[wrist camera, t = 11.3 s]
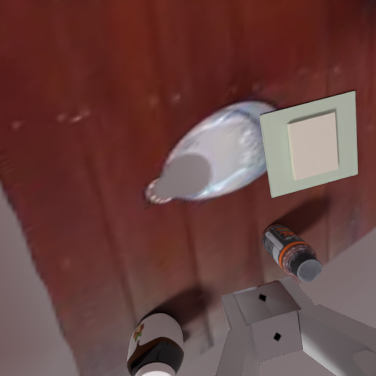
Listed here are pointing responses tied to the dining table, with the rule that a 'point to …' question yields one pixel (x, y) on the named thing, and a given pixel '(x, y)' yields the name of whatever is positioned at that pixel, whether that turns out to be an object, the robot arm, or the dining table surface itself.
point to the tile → (313, 146)
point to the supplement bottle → (291, 253)
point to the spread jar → (156, 346)
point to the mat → (280, 150)
